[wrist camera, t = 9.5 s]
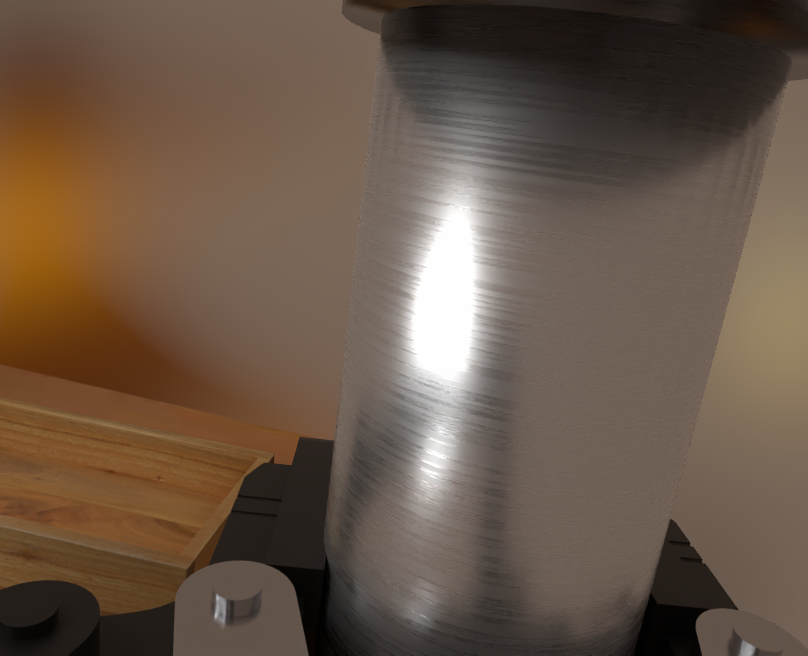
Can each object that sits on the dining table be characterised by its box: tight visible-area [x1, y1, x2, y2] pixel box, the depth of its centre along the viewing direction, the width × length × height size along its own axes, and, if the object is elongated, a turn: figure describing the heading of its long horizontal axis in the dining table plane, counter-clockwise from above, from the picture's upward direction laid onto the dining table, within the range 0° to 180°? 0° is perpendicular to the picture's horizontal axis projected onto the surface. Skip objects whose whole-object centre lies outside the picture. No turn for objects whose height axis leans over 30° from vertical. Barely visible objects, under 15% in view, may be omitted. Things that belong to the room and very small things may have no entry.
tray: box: [0, 397, 274, 616], centre depth 48 cm, size 31×15×6 cm, turn 82°
